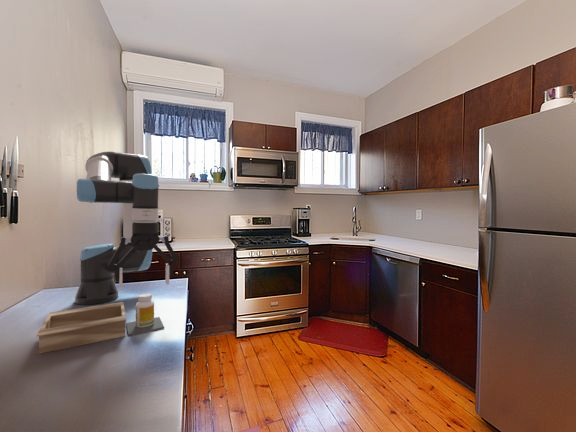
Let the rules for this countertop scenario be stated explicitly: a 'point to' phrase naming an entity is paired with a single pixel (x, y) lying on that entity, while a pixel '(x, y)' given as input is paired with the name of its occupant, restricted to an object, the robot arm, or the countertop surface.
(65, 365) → the countertop surface
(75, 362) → the countertop surface
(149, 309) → the supplement bottle
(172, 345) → the countertop surface
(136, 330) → the mat
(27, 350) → the countertop surface
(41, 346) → the wooden frame
